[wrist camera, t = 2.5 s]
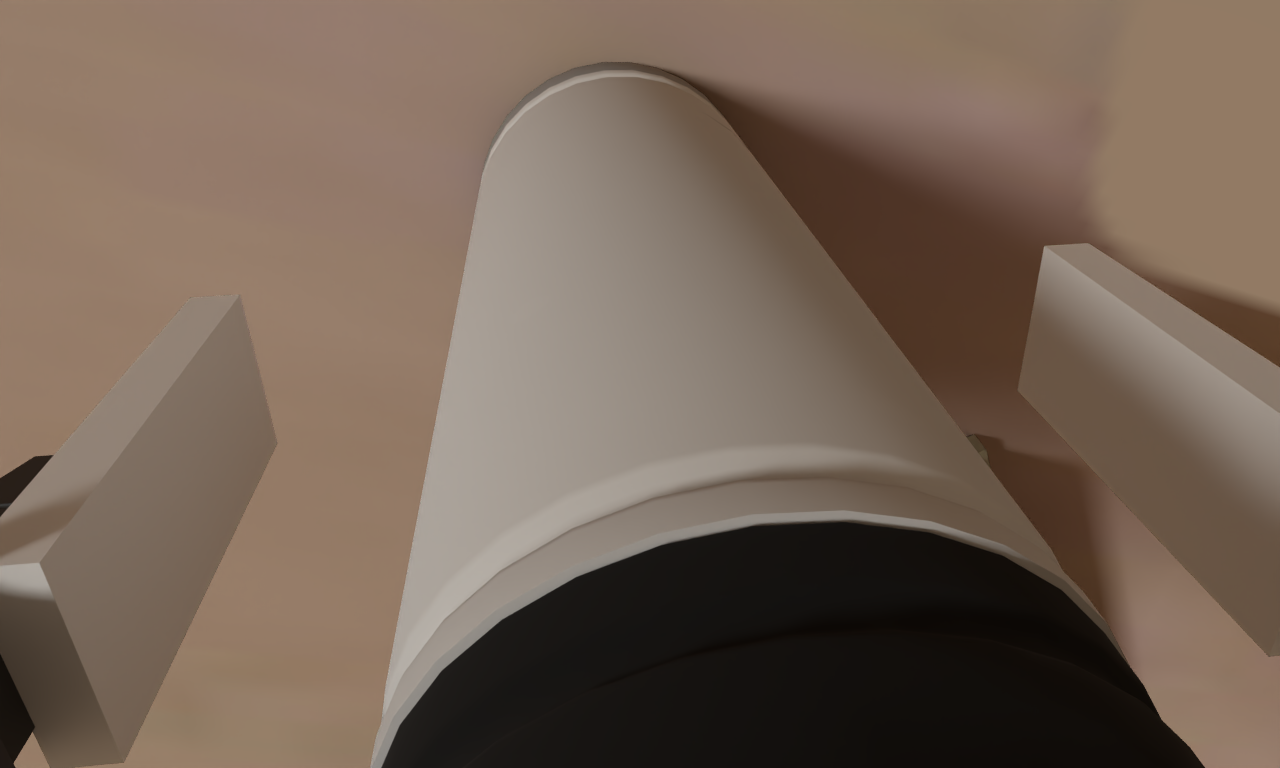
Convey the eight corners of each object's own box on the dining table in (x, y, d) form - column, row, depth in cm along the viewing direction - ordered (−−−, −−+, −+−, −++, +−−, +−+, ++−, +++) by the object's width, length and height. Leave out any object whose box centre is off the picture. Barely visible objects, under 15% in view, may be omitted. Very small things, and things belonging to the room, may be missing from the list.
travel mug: (789, 91, 21) (1929, 1091, 4) (694, 342, 24) (1097, 1563, 7) (522, 5, 20) (404, 965, 2) (455, 281, 23) (177, 1634, 5)
